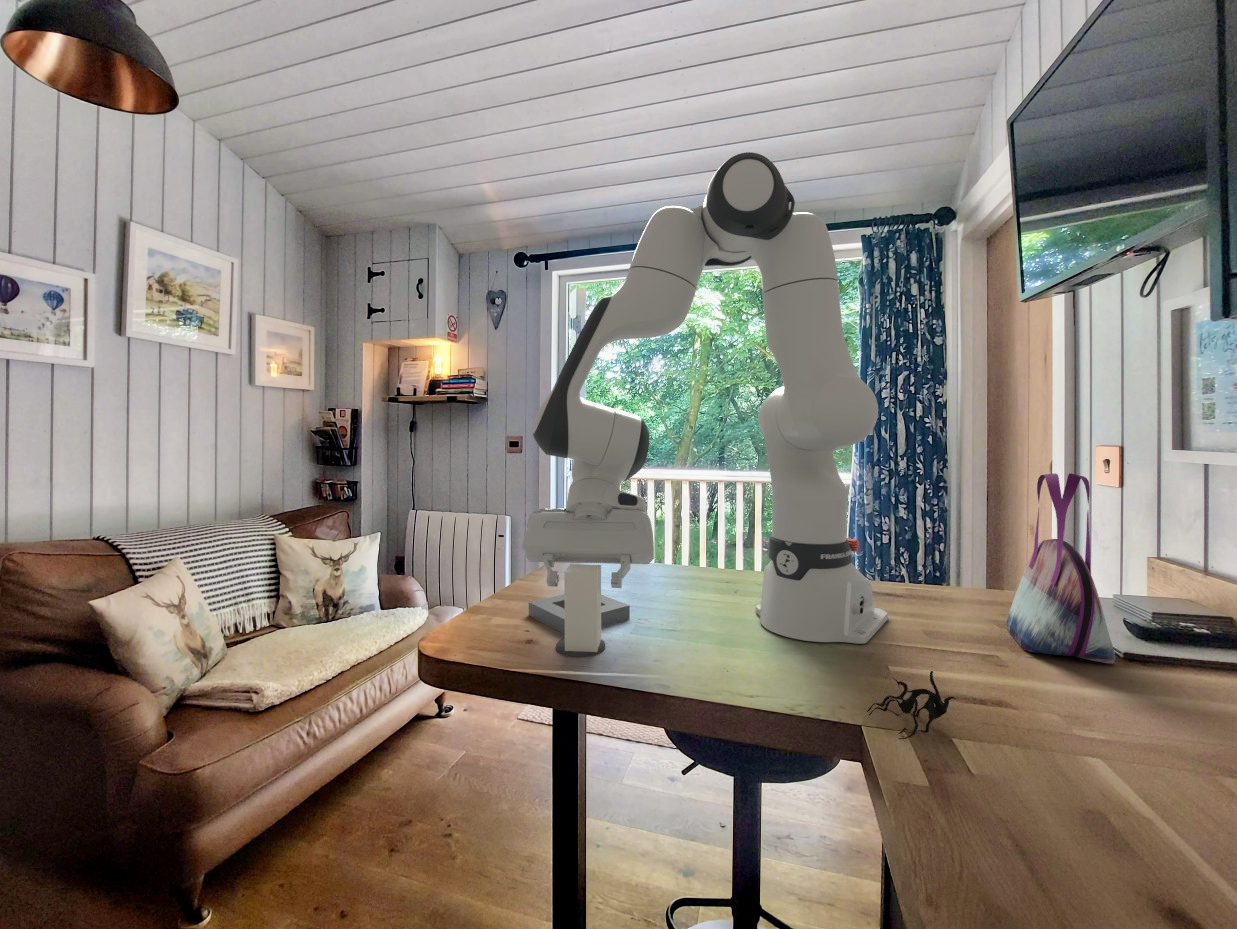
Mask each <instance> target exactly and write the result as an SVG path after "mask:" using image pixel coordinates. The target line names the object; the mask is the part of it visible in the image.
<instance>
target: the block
mask: <svg viewBox="0 0 1237 929" xmlns="http://www.w3.org/2000/svg"><path fill="white" fill-rule="evenodd" d="M563 573H564V578H563V580H564V589H563V590H564V596H565V634H564V638H565V651H583V652H597V651H598V648H599V645H600V642H601V639H602V627H601V595H602V564H581V563H570V564H569V566H568V567H567V568H566V569H565V571H564V572H563Z"/></svg>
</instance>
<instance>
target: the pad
mask: <svg viewBox="0 0 1237 929" xmlns="http://www.w3.org/2000/svg"><path fill="white" fill-rule="evenodd" d="M555 644H556V645H555V650H556V652H557V653H559V654H560V655H562V656H564V657H565V656H566V657H570V658H587V657H593V656H596V655H599V654H601V653H602V652H604V651H605V649H606V642H605V641H604V640H603V639H602V638H601V642H600V645H599V648H598V651H597V652H583V651H565V637H564V638H562V639H560V640H558V642H557V643H555Z"/></svg>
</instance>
